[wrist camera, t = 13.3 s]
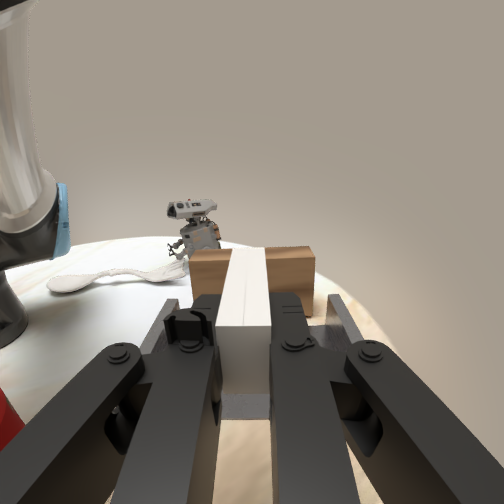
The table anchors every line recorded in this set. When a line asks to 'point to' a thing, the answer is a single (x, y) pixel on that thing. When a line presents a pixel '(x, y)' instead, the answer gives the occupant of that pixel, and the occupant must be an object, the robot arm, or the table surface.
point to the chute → (257, 405)
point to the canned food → (8, 421)
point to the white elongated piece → (80, 281)
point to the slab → (277, 265)
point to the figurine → (194, 226)
